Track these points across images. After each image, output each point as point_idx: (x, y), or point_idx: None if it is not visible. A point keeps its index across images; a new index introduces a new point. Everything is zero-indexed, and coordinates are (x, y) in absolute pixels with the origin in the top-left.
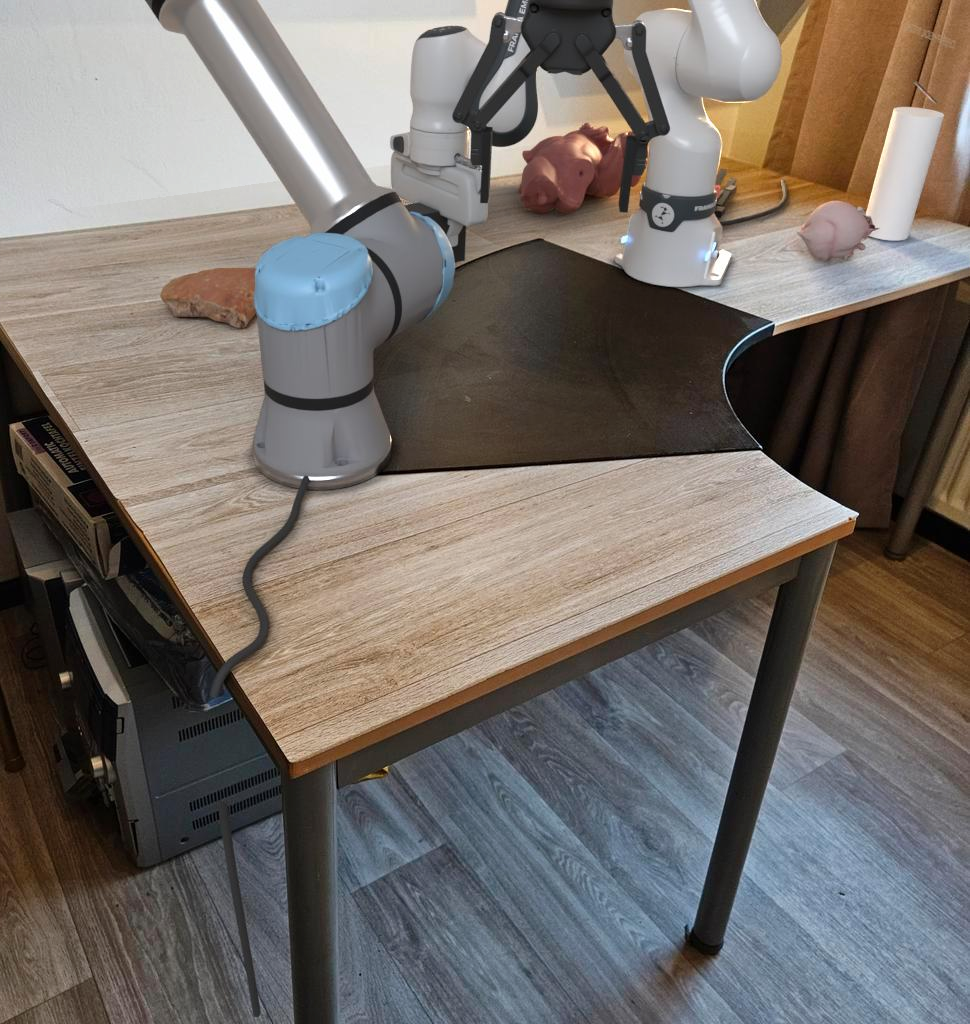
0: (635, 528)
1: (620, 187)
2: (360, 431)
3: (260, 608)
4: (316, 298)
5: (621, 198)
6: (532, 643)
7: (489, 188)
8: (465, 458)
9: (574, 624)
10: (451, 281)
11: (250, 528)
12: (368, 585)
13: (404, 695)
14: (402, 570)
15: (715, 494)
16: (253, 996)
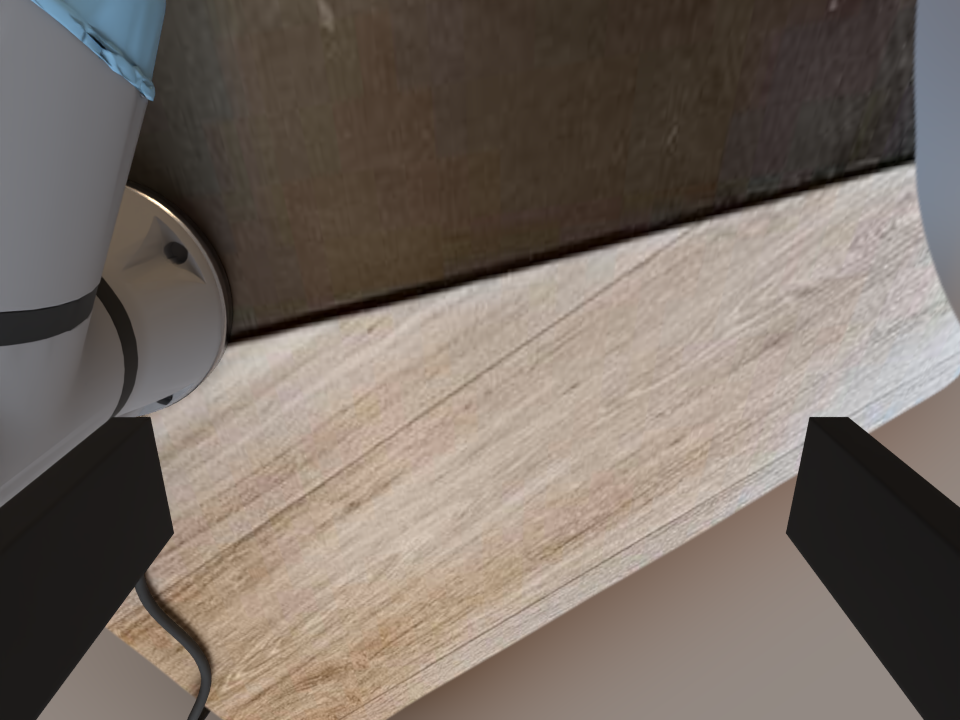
0: (636, 433)
1: (854, 461)
2: (163, 388)
3: (185, 646)
4: None
5: (817, 574)
6: (490, 642)
7: (134, 477)
8: (360, 272)
9: (537, 613)
10: (153, 13)
11: None
12: (290, 579)
13: (370, 711)
14: (324, 551)
15: (787, 327)
16: None
